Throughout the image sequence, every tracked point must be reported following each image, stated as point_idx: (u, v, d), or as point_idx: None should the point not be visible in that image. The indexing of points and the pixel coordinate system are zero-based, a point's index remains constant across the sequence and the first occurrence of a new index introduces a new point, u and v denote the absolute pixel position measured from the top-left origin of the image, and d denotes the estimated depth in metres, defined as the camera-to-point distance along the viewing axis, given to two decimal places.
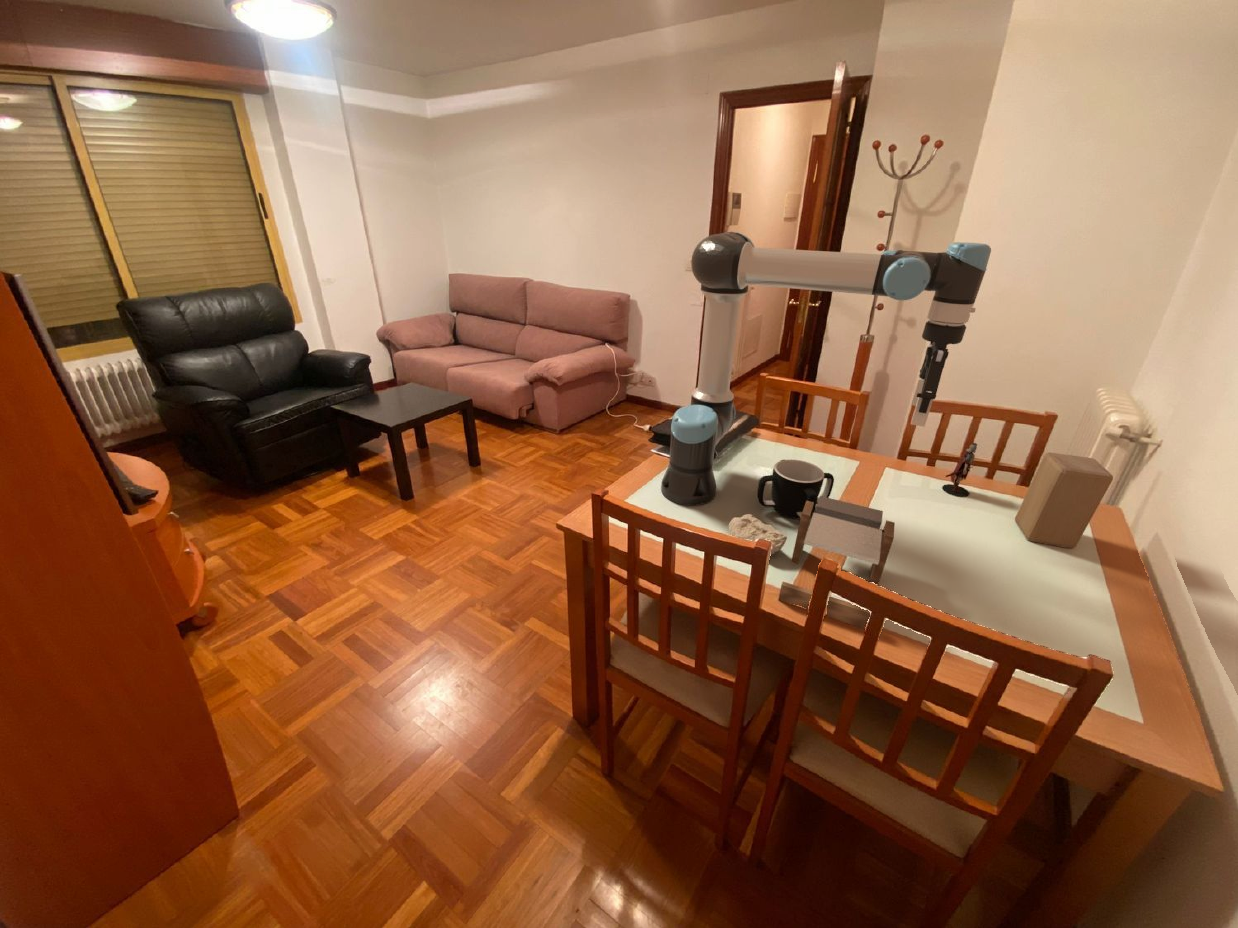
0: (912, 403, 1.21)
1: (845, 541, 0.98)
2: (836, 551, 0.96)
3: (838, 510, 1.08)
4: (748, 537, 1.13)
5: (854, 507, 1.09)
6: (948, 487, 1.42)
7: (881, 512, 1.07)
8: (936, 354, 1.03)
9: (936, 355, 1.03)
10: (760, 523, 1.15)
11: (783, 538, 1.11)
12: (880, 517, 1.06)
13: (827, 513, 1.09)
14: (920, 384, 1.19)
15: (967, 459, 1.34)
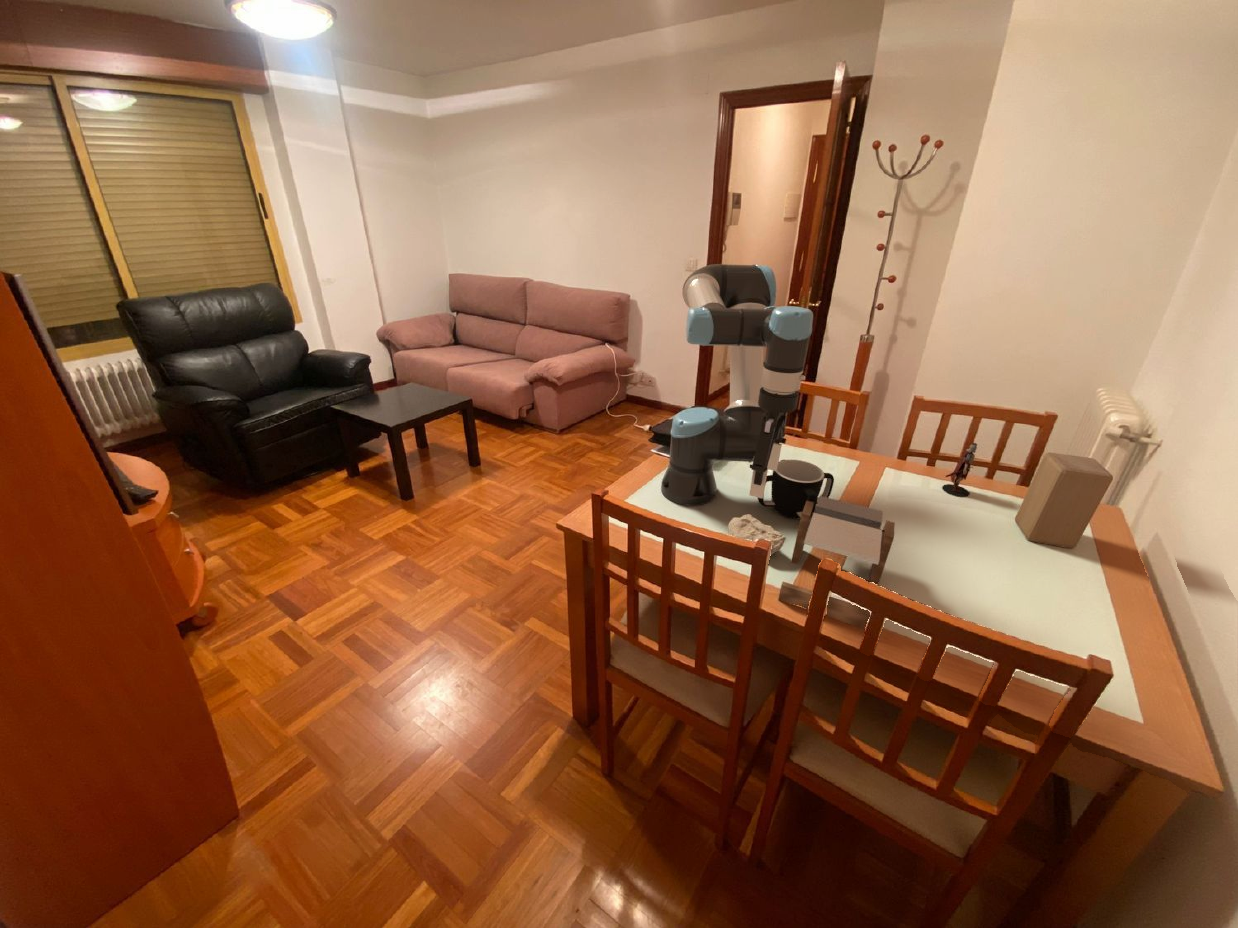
0: None
1: (845, 541, 0.98)
2: (836, 551, 0.96)
3: (838, 510, 1.08)
4: (747, 537, 1.13)
5: (854, 507, 1.09)
6: (948, 487, 1.42)
7: (881, 512, 1.07)
8: (764, 425, 0.96)
9: (764, 426, 0.96)
10: (759, 523, 1.15)
11: (782, 539, 1.10)
12: (880, 517, 1.06)
13: (827, 513, 1.09)
14: (771, 448, 1.11)
15: (967, 459, 1.34)
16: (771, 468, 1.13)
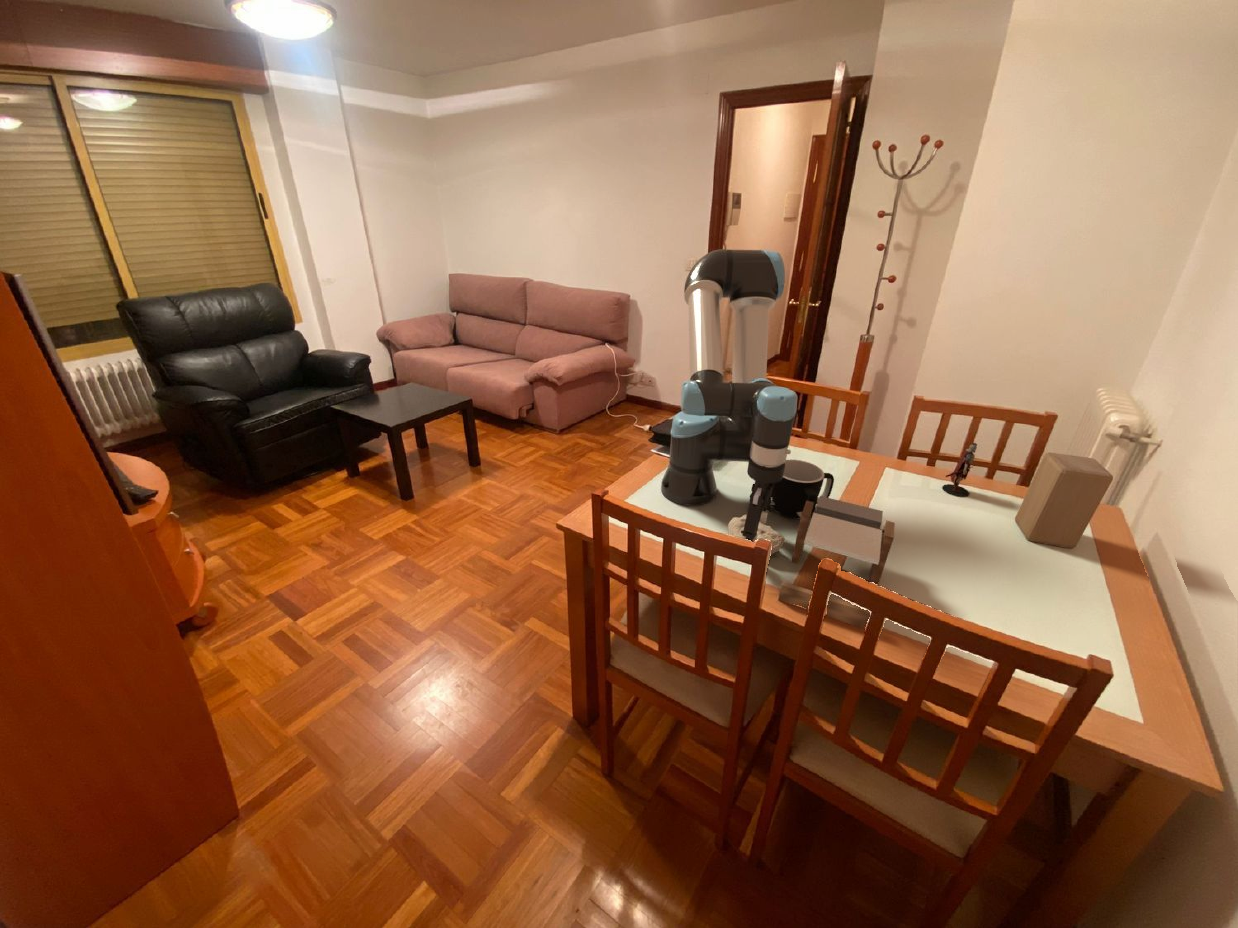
0: None
1: (845, 541, 0.98)
2: (836, 551, 0.96)
3: (838, 510, 1.08)
4: None
5: (854, 507, 1.09)
6: (948, 487, 1.42)
7: (881, 512, 1.07)
8: (752, 498, 1.04)
9: (752, 499, 1.04)
10: (759, 524, 1.15)
11: (781, 539, 1.10)
12: (880, 517, 1.06)
13: (827, 513, 1.09)
14: None
15: (967, 459, 1.34)
16: None
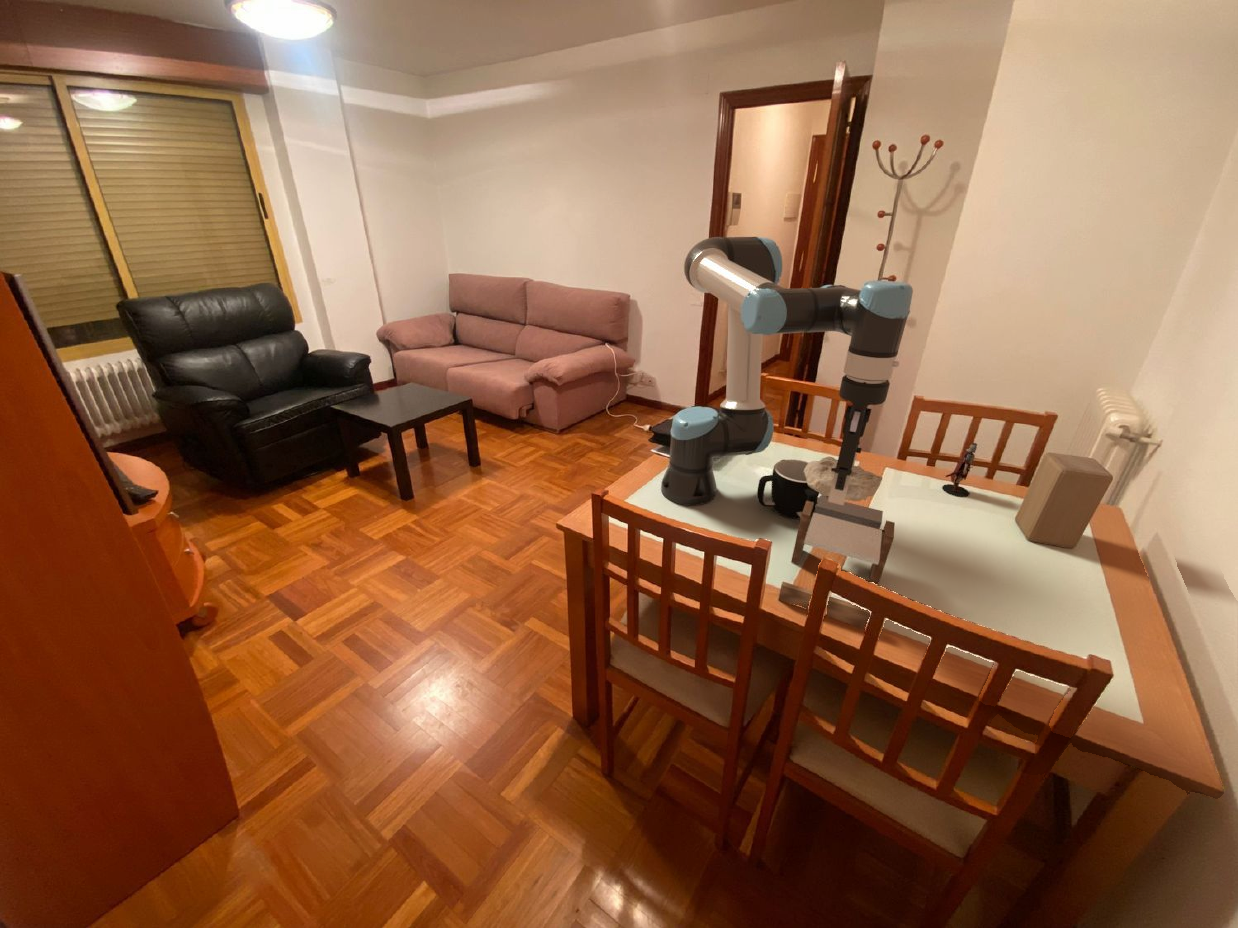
0: None
1: (845, 541, 0.98)
2: (836, 551, 0.96)
3: (838, 510, 1.08)
4: None
5: (854, 507, 1.09)
6: (948, 487, 1.42)
7: (881, 512, 1.07)
8: (849, 424, 0.83)
9: (849, 425, 0.83)
10: None
11: (878, 479, 0.90)
12: (880, 517, 1.06)
13: (827, 513, 1.09)
14: None
15: (967, 459, 1.34)
16: None
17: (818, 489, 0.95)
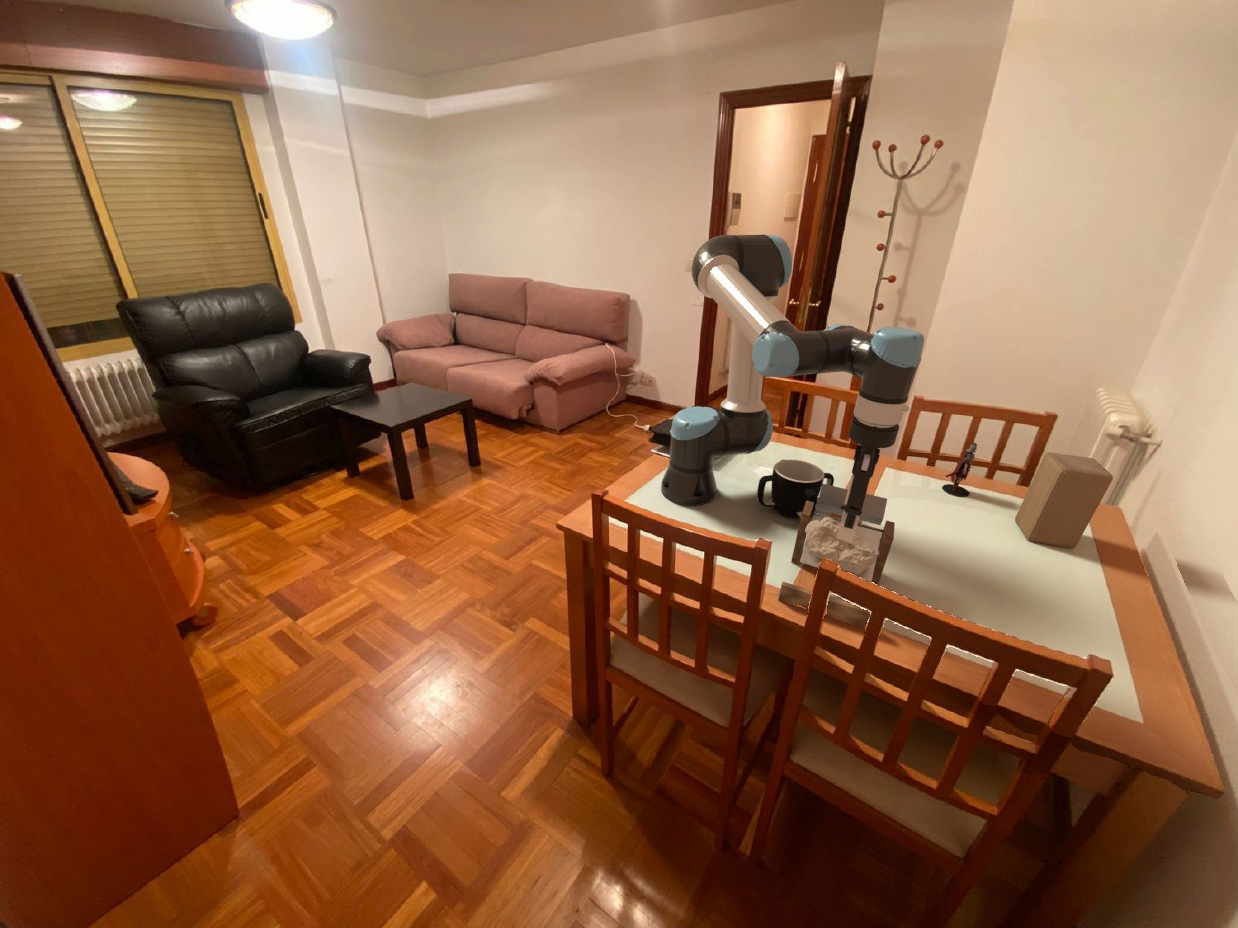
0: (846, 501, 1.02)
1: None
2: None
3: (839, 506, 1.06)
4: (832, 554, 0.98)
5: None
6: (948, 487, 1.42)
7: (885, 501, 1.05)
8: (861, 462, 0.84)
9: (861, 463, 0.84)
10: None
11: (875, 556, 0.94)
12: (883, 510, 1.04)
13: (829, 508, 1.08)
14: None
15: (967, 459, 1.34)
16: None
17: (818, 556, 1.00)
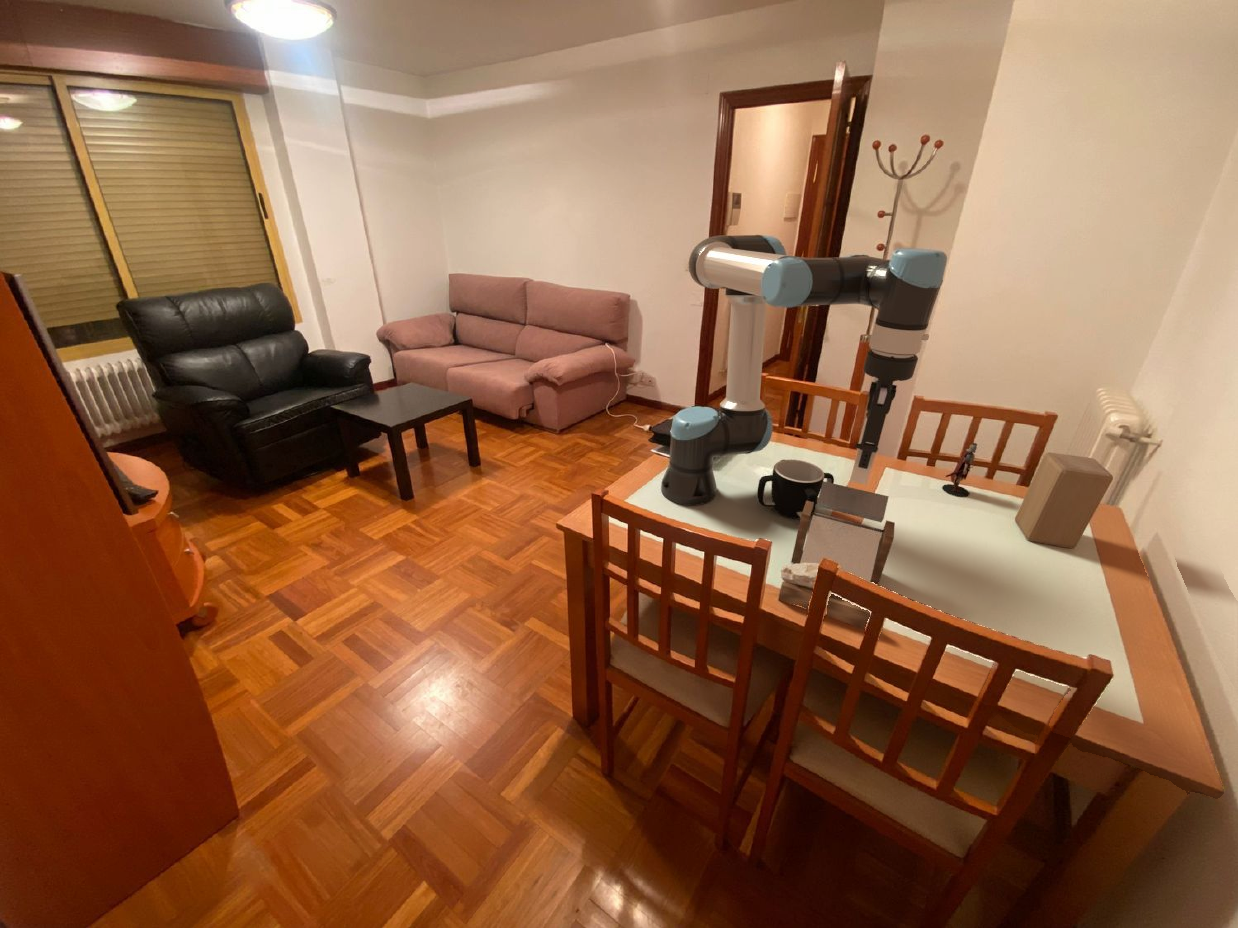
0: (858, 448, 0.97)
1: (840, 559, 1.02)
2: None
3: (839, 505, 1.06)
4: None
5: (858, 496, 1.05)
6: (948, 487, 1.42)
7: (886, 499, 1.03)
8: (878, 394, 0.79)
9: (878, 396, 0.79)
10: None
11: None
12: (883, 509, 1.03)
13: (829, 506, 1.08)
14: None
15: (967, 459, 1.34)
16: None
17: None
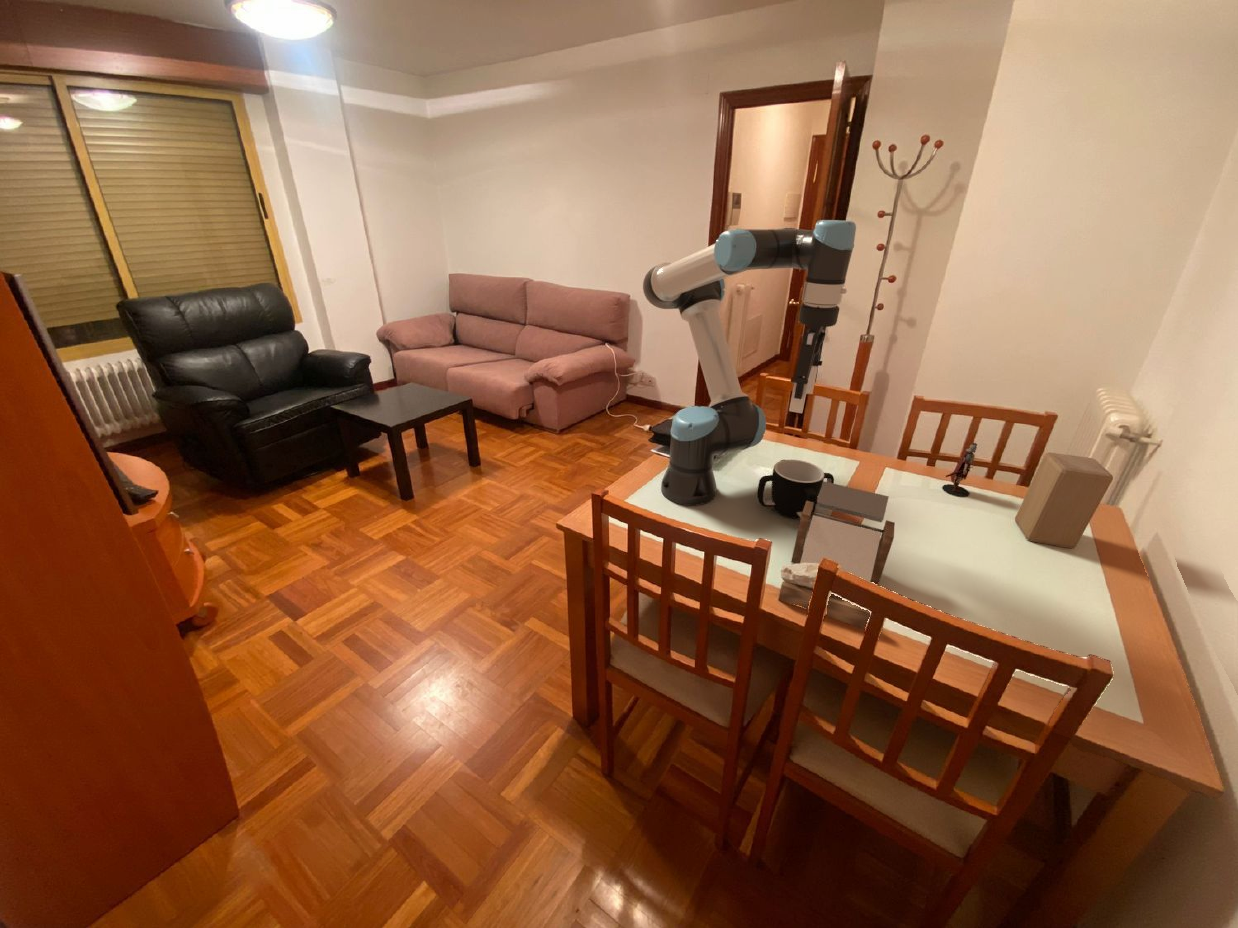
0: None
1: (840, 559, 1.02)
2: None
3: (839, 505, 1.06)
4: None
5: (858, 496, 1.05)
6: (948, 487, 1.42)
7: (886, 499, 1.03)
8: (806, 337, 0.99)
9: (806, 338, 0.99)
10: None
11: None
12: (883, 509, 1.03)
13: (829, 506, 1.08)
14: None
15: (967, 459, 1.34)
16: (807, 391, 1.17)
17: None
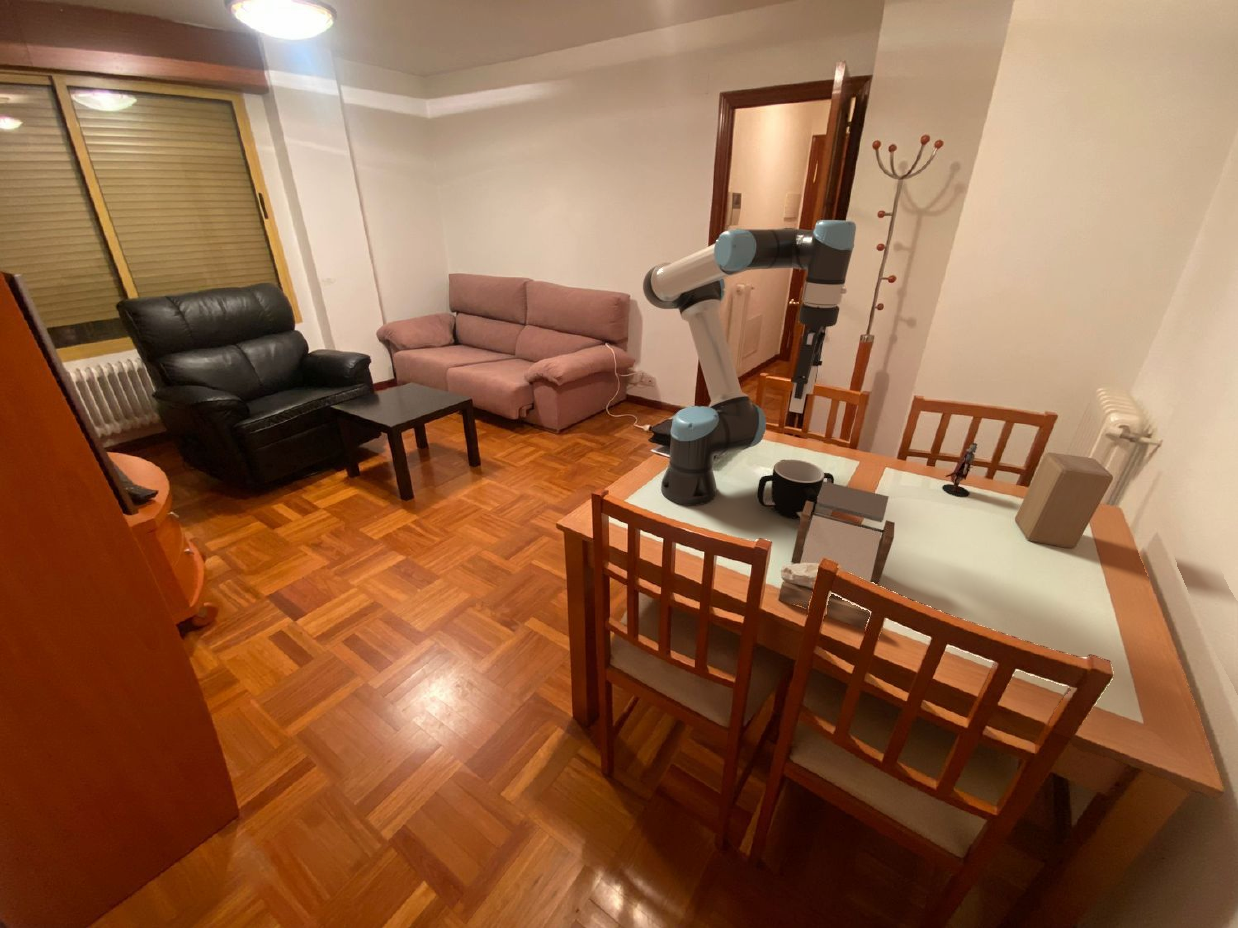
0: None
1: (840, 559, 1.02)
2: None
3: (839, 505, 1.06)
4: None
5: (858, 496, 1.05)
6: (948, 487, 1.42)
7: (886, 499, 1.03)
8: (806, 337, 0.99)
9: (806, 338, 0.99)
10: None
11: None
12: (883, 509, 1.03)
13: (829, 506, 1.08)
14: None
15: (967, 459, 1.34)
16: (807, 391, 1.17)
17: None
